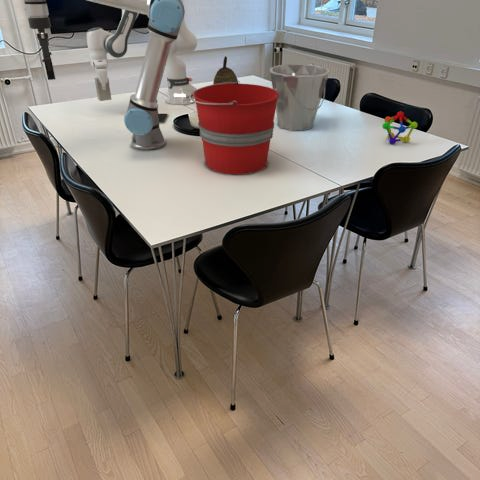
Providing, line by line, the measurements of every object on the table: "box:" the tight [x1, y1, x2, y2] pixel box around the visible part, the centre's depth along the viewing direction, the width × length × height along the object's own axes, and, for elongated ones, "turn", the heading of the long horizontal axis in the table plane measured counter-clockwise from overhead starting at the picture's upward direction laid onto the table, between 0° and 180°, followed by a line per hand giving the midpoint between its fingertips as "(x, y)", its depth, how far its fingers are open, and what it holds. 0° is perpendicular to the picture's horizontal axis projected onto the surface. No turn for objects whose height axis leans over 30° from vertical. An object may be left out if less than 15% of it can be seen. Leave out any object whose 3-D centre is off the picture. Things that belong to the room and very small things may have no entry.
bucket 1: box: [190, 81, 279, 175], centre depth 181 cm, size 35×35×30 cm
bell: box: [212, 56, 239, 85], centre depth 278 cm, size 19×26×20 cm
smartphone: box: [158, 113, 169, 124], centre depth 241 cm, size 7×1×15 cm
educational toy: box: [382, 110, 418, 145], centre depth 207 cm, size 16×13×15 cm
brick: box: [94, 77, 112, 102], centre depth 242 cm, size 5×6×11 cm
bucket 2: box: [269, 63, 330, 131], centre depth 226 cm, size 30×30×28 cm
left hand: (51, 76), depth 177 cm, fingers open, 13 cm apart
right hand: (103, 88), depth 242 cm, fingers closed on brick, 5 cm apart
